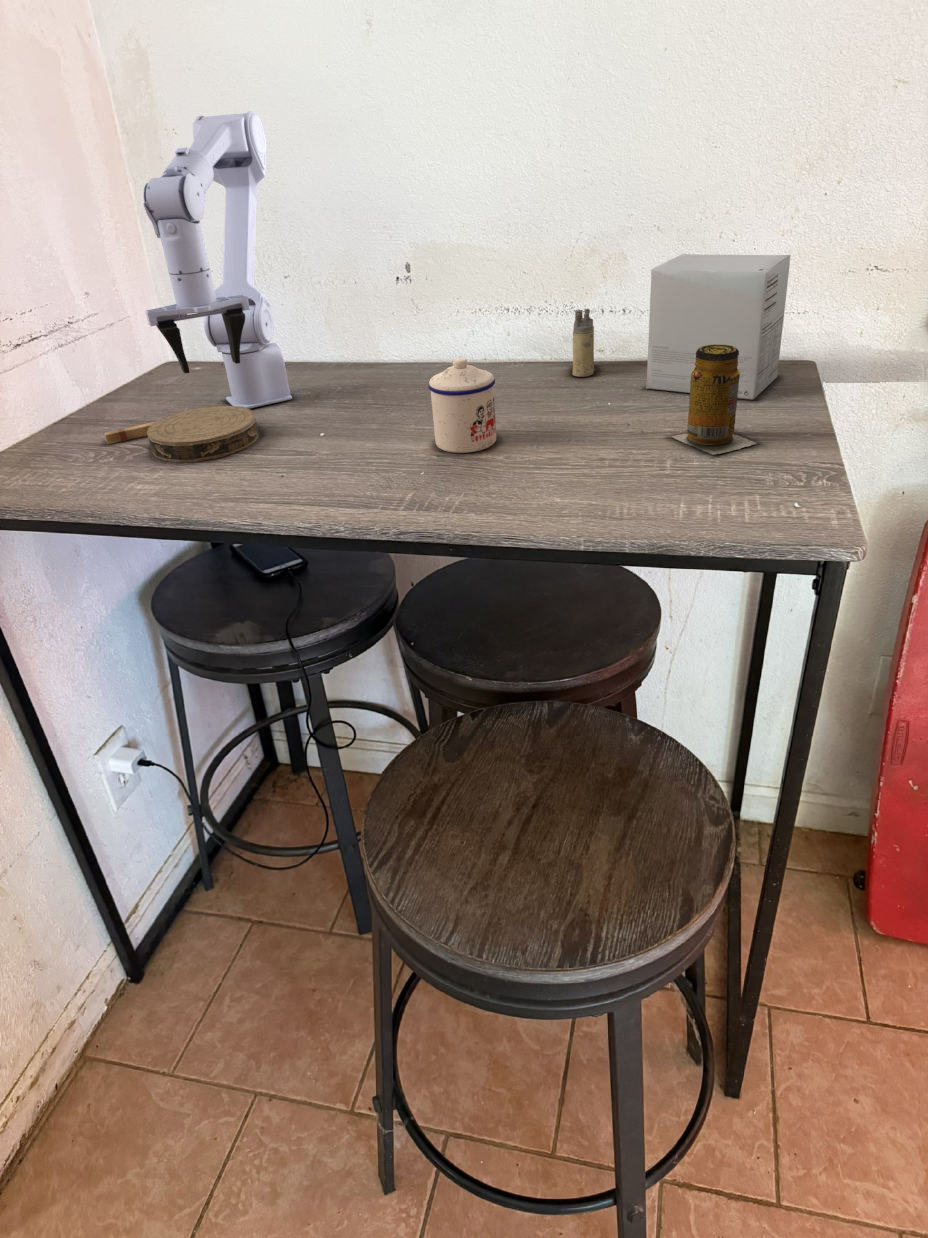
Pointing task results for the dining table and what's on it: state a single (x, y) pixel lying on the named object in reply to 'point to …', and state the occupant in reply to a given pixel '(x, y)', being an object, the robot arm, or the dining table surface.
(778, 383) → the dining table surface
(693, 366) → the supplement box
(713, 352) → the condiment
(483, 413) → the teacup with lid
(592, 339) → the lighter
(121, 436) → the rail
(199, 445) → the tin can
